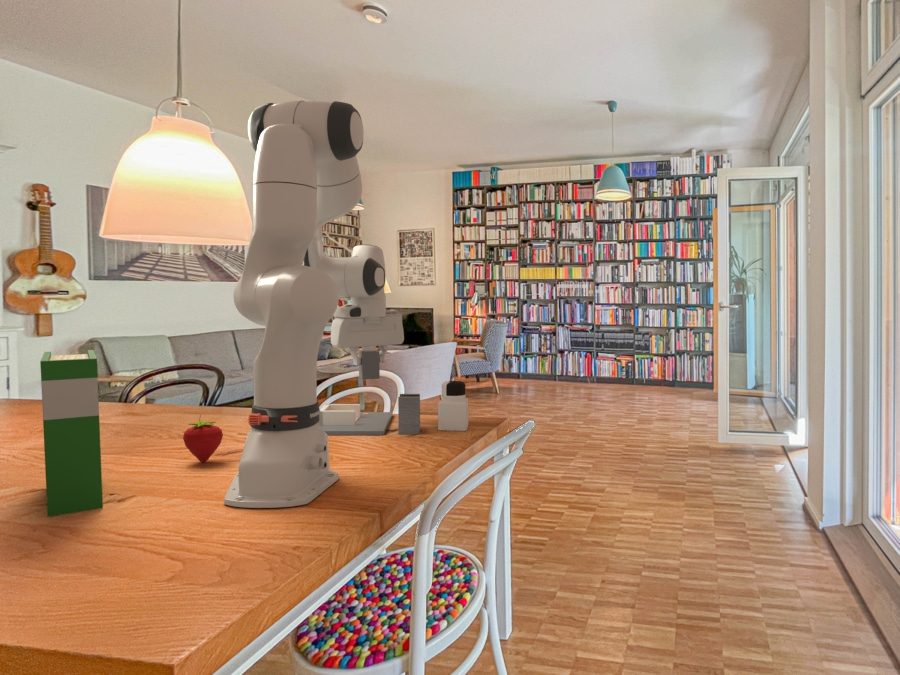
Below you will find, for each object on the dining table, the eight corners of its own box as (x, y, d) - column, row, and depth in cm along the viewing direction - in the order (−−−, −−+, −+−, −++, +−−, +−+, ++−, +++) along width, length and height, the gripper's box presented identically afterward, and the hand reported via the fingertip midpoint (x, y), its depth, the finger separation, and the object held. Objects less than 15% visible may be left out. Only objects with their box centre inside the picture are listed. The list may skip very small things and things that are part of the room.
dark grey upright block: (418, 434, 150) (418, 397, 150) (398, 434, 150) (398, 397, 150) (420, 428, 156) (419, 393, 156) (400, 428, 156) (400, 393, 156)
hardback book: (50, 486, 110) (44, 351, 108) (98, 479, 114) (93, 349, 112) (47, 516, 95) (40, 361, 93) (102, 508, 99) (96, 358, 97)
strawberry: (223, 464, 124) (222, 415, 123) (182, 467, 121) (180, 417, 121) (223, 457, 129) (222, 409, 129) (184, 460, 127) (183, 412, 126)
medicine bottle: (468, 425, 161) (468, 379, 160) (466, 431, 154) (466, 383, 153) (441, 424, 161) (441, 379, 160) (438, 430, 154) (437, 383, 153)
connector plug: (379, 378, 157) (379, 343, 156) (362, 379, 156) (362, 343, 155) (375, 376, 161) (375, 342, 161) (359, 377, 160) (358, 342, 159)
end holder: (383, 435, 149) (383, 416, 149) (284, 435, 149) (284, 416, 149) (392, 415, 173) (392, 399, 173) (306, 415, 173) (306, 399, 173)
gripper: (394, 308, 166) (395, 359, 167) (327, 310, 153) (328, 365, 154) (408, 309, 161) (409, 361, 162) (340, 310, 148) (341, 368, 149)
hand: (369, 363), depth 158 cm, fingers closed on connector plug, 5 cm apart
